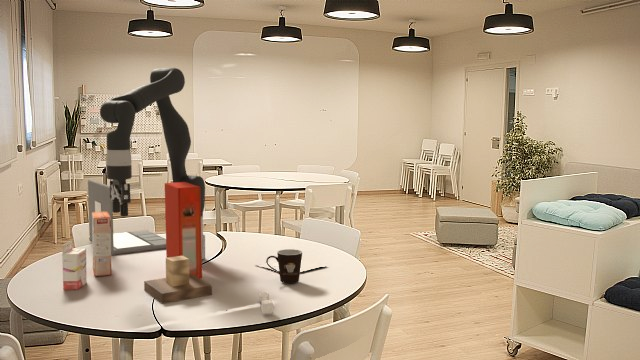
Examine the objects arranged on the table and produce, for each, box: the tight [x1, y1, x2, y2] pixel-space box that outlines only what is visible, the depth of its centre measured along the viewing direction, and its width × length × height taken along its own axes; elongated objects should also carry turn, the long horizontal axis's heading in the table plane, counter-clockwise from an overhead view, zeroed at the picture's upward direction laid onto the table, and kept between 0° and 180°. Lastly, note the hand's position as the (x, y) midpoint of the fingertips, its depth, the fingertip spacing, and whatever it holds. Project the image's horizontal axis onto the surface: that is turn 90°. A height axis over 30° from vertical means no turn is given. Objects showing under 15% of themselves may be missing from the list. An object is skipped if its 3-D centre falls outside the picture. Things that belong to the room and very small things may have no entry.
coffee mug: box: [265, 248, 303, 284], centre depth 191 cm, size 12×9×10 cm
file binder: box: [164, 182, 203, 279], centre depth 196 cm, size 8×17×32 cm, turn 30°
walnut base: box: [143, 274, 213, 304], centre depth 176 cm, size 16×16×3 cm
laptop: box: [87, 178, 166, 256], centre depth 243 cm, size 35×26×28 cm
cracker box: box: [91, 212, 112, 277], centre depth 199 cm, size 14×6×21 cm, turn 24°
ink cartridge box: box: [61, 239, 88, 291], centre depth 181 cm, size 9×5×15 cm, turn 5°
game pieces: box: [258, 291, 274, 315], centre depth 163 cm, size 12×3×3 cm, turn 12°
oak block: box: [165, 256, 189, 287], centre depth 175 cm, size 6×6×8 cm
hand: (120, 214), depth 178 cm, fingers open, 8 cm apart
